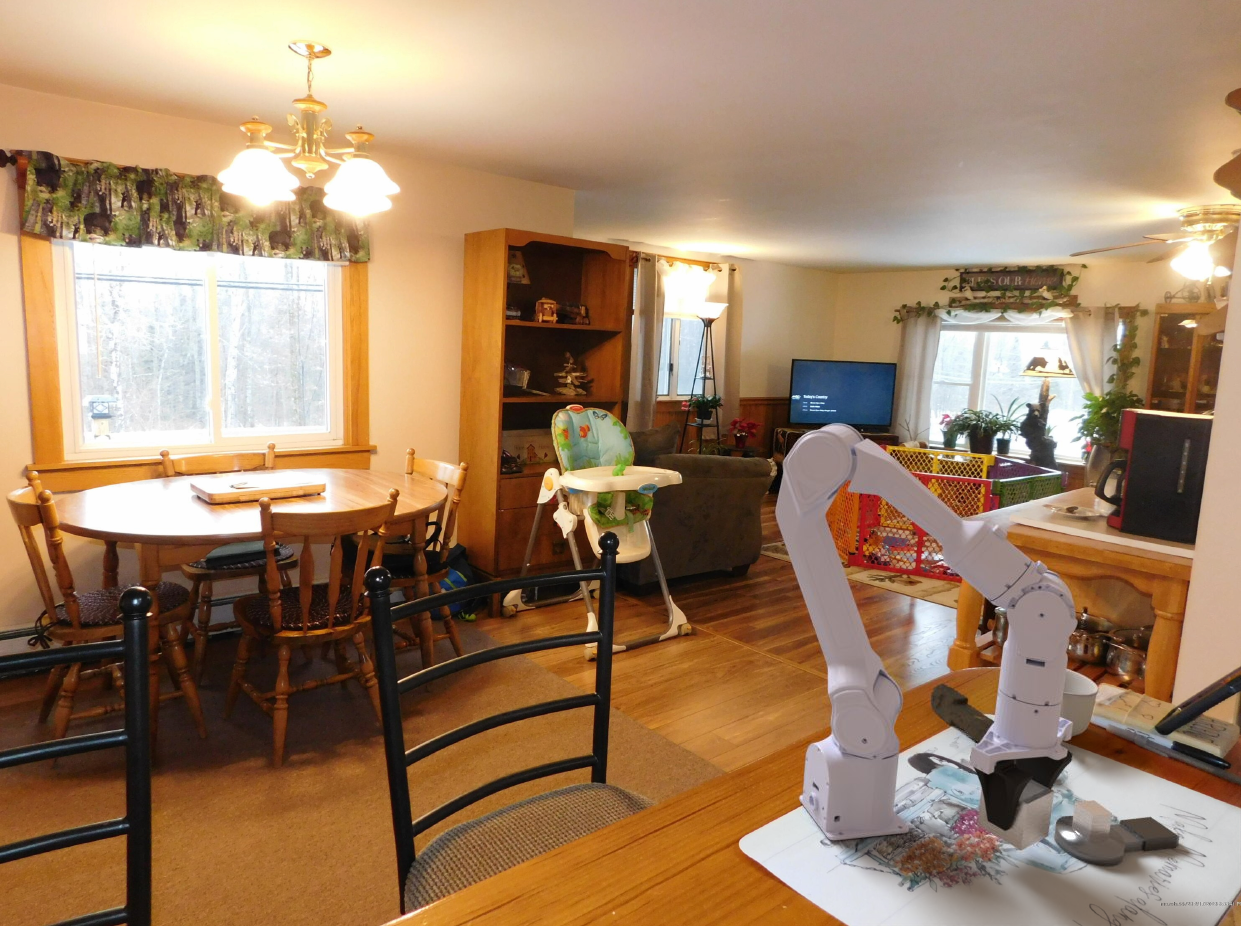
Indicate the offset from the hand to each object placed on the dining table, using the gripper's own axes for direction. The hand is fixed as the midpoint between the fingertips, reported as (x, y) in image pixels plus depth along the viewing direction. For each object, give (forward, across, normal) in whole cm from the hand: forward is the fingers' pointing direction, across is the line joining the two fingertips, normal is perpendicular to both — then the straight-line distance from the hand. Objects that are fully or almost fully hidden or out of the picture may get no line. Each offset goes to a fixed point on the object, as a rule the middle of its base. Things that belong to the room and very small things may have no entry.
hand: (1013, 817), depth 82 cm
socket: (+1, 0, 0) cm, 1 cm away
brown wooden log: (+5, +20, +18) cm, 27 cm away
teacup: (+5, +31, +14) cm, 34 cm away
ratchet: (+5, +13, -4) cm, 14 cm away
